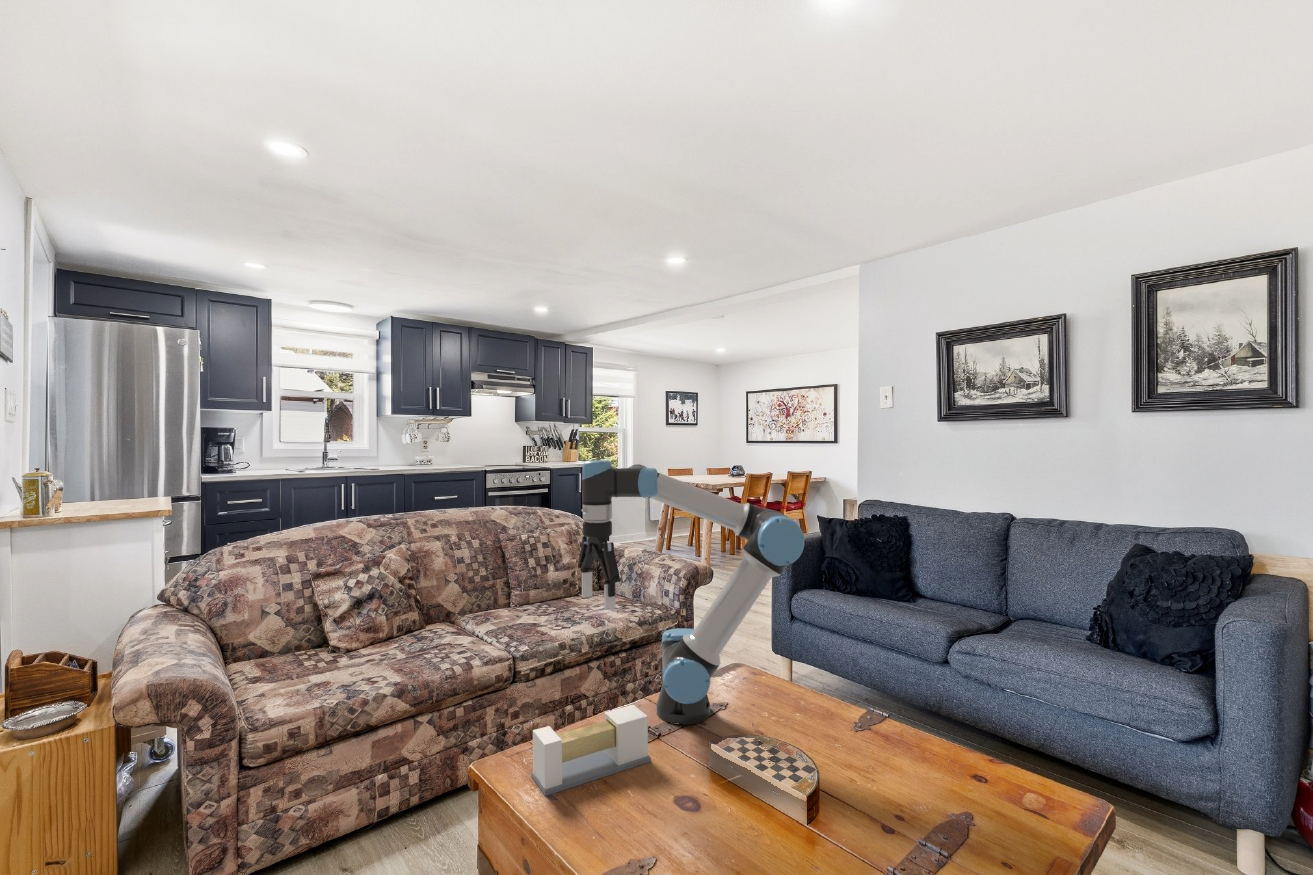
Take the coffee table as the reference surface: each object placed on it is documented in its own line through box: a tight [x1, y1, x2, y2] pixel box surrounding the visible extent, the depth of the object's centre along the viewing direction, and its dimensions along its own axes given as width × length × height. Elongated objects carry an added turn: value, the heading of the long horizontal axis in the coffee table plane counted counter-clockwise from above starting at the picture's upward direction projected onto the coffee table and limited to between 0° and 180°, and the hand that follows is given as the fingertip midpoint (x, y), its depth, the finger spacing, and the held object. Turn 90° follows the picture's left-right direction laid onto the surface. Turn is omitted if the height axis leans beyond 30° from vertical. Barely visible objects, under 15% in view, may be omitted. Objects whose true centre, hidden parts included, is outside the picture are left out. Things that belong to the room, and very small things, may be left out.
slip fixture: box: [530, 704, 652, 797], centre depth 143 cm, size 26×9×11 cm, turn 121°
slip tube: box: [556, 720, 616, 763], centre depth 142 cm, size 18×4×4 cm, turn 121°
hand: (598, 602), depth 158 cm, fingers open, 13 cm apart
